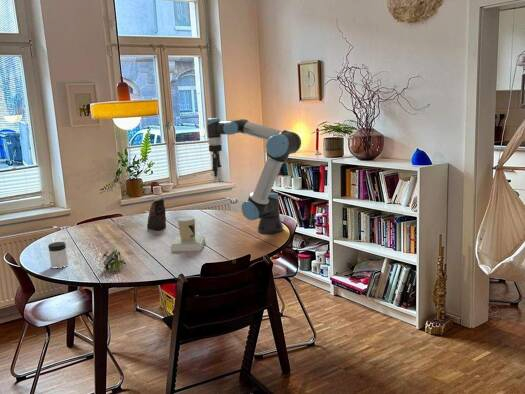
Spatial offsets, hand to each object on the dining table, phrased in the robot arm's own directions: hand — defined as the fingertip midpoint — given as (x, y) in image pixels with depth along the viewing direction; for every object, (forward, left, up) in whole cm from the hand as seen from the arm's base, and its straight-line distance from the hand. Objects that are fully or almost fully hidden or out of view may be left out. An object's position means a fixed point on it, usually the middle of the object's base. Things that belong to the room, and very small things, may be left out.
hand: (217, 179), depth 303 cm
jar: (+77, +55, -32) cm, 100 cm away
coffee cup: (+15, +31, -28) cm, 44 cm away
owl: (+43, -13, -32) cm, 55 cm away
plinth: (+15, +30, -32) cm, 46 cm away
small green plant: (+46, +62, -32) cm, 84 cm away
